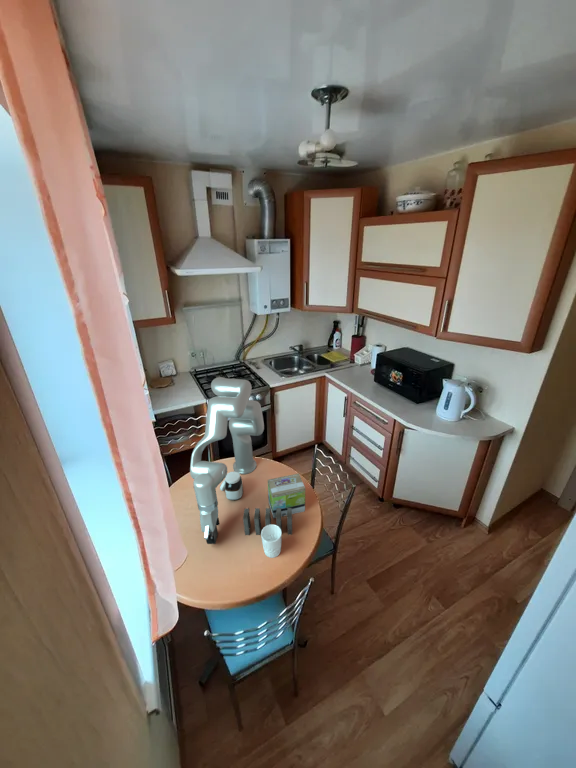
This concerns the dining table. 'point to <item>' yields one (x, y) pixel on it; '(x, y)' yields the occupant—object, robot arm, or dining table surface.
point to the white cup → (271, 540)
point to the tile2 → (257, 521)
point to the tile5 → (289, 520)
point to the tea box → (286, 494)
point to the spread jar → (232, 486)
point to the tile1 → (246, 521)
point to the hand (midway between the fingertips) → (213, 533)
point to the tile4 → (279, 518)
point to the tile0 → (214, 533)
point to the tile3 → (268, 517)
